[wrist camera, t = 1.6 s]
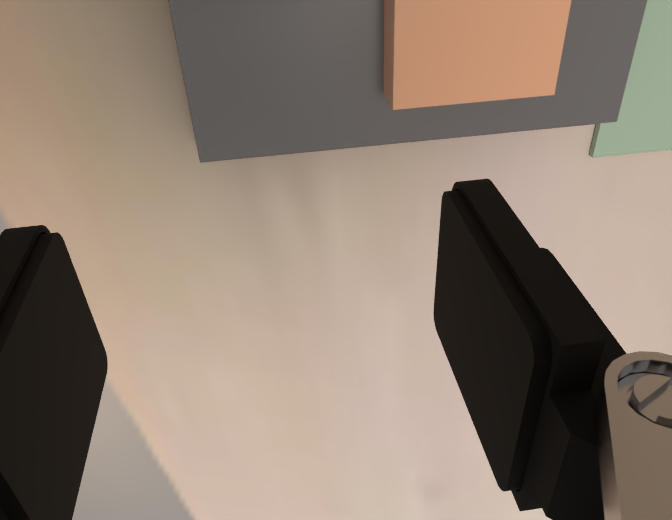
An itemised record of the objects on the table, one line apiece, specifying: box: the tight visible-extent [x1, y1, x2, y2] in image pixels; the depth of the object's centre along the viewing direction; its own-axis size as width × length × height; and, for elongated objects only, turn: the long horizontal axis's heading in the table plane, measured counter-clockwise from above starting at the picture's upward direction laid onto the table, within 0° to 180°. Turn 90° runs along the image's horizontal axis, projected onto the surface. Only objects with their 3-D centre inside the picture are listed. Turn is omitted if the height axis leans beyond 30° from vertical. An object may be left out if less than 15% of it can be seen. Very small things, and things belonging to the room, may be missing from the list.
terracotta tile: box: [384, 0, 571, 110], centre depth 24 cm, size 7×7×2 cm
